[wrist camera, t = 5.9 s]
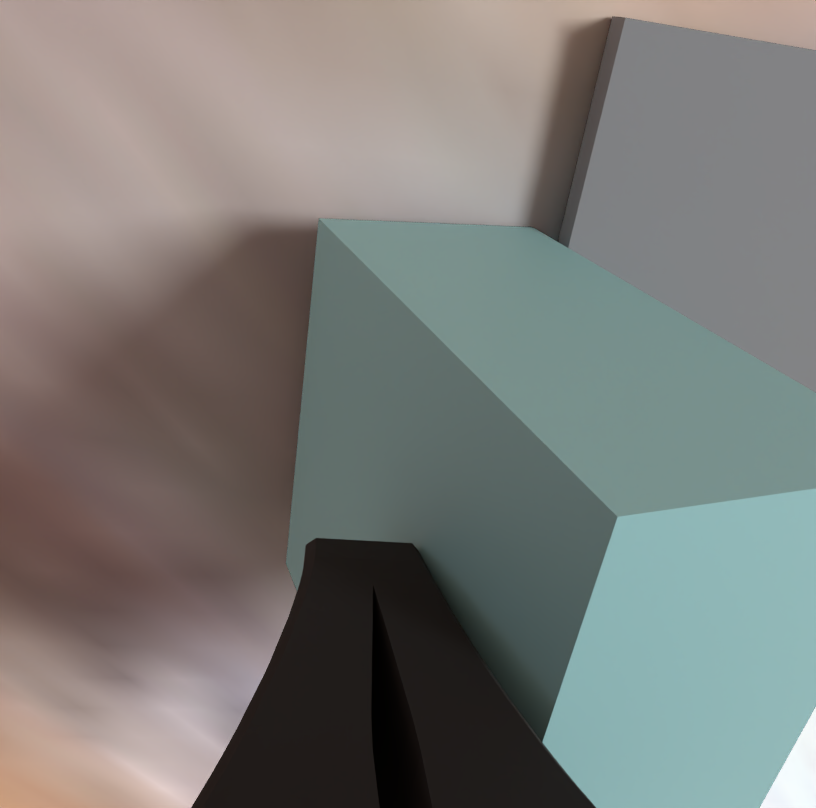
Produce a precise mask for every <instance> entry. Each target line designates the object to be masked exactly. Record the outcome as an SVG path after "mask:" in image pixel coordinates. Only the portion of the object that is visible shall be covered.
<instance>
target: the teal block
mask: <svg viewBox="0 0 816 808" xmlns="http://www.w3.org/2000/svg"><path fill="white" fill-rule="evenodd" d="M315 538H328V539H346V540H365V541H383V542H401V543H412V544H413V545H414V546H415V547H416V548H417V549H418V551H419V552H420V554H421V556H422V558H423V560H424V562H425V564H426V565H427V567H428V569H429V571H430V573H431V575H432V577H433V578H434V580H435V582H436V584H437V586H438V587H439V589H440V591H441V593H442V594H443V596H444V598H445V600H446V601H447V603H448V605H449V606H450V608H451V610H452V611H453V613H454V615H455V616H456V618H457V620H458V621H459V623H460V625H461V626H462V628H463V629H464V631H465V633H466V634H467V636H468V637H469V639H470V641H471V642H472V644H473V645H474V647H475V648H476V650H477V651H478V653H479V654H480V656H481V657H482V659H483V660H484V662H485V663H486V665H487V666H488V668H489V669H490V671H491V672H492V674H493V675H494V677H495V678H496V680H497V681H498V683H499V684H500V685H501V687H502V688H503V690H504V691H505V693H506V694H507V695H508V697H509V698H510V700H511V701H512V702H513V704H514V705H515V707H516V708H517V709H518V711H519V712H520V713H521V715H522V716H523V717H524V719H525V720H526V721H527V723H528V724H529V725H530V727H531V728H532V729H533V731H534V732H535V733H536V735H537V736H538V737H539V739H540V740H541V741H542V743H543V744H544V745H545V746H546V748H547V749H548V750H549V752H550V753H551V754H552V755H553V757H554V758H555V759H556V760H557V762H558V763H559V764H560V765H561V767H562V768H563V769H564V770H565V771H566V773H567V774H568V775H569V776H570V778H571V779H572V780H573V781H574V782H575V784H576V785H577V786H578V787H579V788H580V789H581V791H582V792H583V793H584V794H585V795H586V796H587V798H588V799H589V800H590V801H591V802H592V803H593V804H594V806H595V807H596V808H760V806H761V804H762V802H763V800H764V799H765V797H766V795H767V793H768V791H769V790H770V788H771V786H772V784H773V782H774V781H775V779H776V777H777V775H778V773H779V772H780V770H781V768H782V766H783V764H784V763H785V761H786V759H787V757H788V755H789V754H790V752H791V750H792V748H793V746H794V745H795V743H796V741H797V739H798V737H799V736H800V734H801V732H802V730H803V728H804V727H805V725H806V723H807V721H808V719H809V718H810V716H811V714H812V712H813V710H814V709H815V707H816V393H815V392H814V391H812V390H810V389H809V388H807V387H805V386H803V385H802V384H800V383H798V382H797V381H795V380H793V379H791V378H790V377H788V376H786V375H785V374H783V373H781V372H779V371H778V370H776V369H774V368H773V367H771V366H769V365H768V364H766V363H764V362H762V361H761V360H759V359H757V358H756V357H754V356H752V355H750V354H749V353H747V352H745V351H744V350H742V349H740V348H738V347H737V346H735V345H733V344H732V343H730V342H728V341H726V340H725V339H723V338H721V337H720V336H718V335H716V334H714V333H713V332H711V331H709V330H708V329H706V328H704V327H702V326H701V325H699V324H697V323H696V322H694V321H692V320H690V319H689V318H687V317H685V316H684V315H682V314H680V313H679V312H677V311H675V310H673V309H672V308H670V307H668V306H667V305H665V304H663V303H661V302H660V301H658V300H656V299H655V298H653V297H651V296H649V295H648V294H646V293H644V292H643V291H641V290H639V289H637V288H636V287H634V286H632V285H631V284H629V283H627V282H625V281H624V280H622V279H620V278H619V277H617V276H615V275H613V274H612V273H610V272H608V271H607V270H605V269H603V268H602V267H600V266H598V265H596V264H595V263H593V262H591V261H590V260H588V259H586V258H584V257H583V256H581V255H579V254H578V253H576V252H574V251H572V250H571V249H569V248H567V247H566V246H564V245H562V244H560V243H559V242H557V241H555V240H554V239H552V238H550V237H548V236H547V235H545V234H543V233H542V232H540V231H538V230H536V229H535V228H533V227H515V226H491V225H466V224H442V223H418V222H393V221H369V220H344V219H320V218H319V221H318V232H317V243H316V253H315V264H314V274H313V285H312V295H311V306H310V316H309V327H308V337H307V348H306V358H305V369H304V379H303V390H302V400H301V411H300V421H299V432H298V442H297V453H296V463H295V474H294V484H293V495H292V505H291V516H290V526H289V537H288V547H287V558H286V565H287V567H288V570H289V572H290V575H291V577H292V580H293V582H294V585H295V587H296V590H298V587H299V584H300V580H301V576H302V572H303V565H304V556H305V546H306V544H308V543H309V542H311V541H312V540H313V539H315Z"/></svg>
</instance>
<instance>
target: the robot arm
mask: <svg viewBox="0 0 816 808" xmlns="http://www.w3.org/2000/svg"><path fill="white" fill-rule="evenodd" d="M191 808H596V807H595V806H594V804H593V803H592V802H591V801H590V800H589V799H588V798H587V796H586V795H585V794H584V793H583V792H582V791H581V789H580V788H579V787H578V786H577V785H576V784H575V782H574V781H573V780H572V779H571V778H570V776H569V775H568V774H567V773H566V771H565V770H564V769H563V768H562V767H561V765H560V764H559V763H558V762H557V760H556V759H555V758H554V757H553V755H552V754H551V753H550V752H549V750H548V749H547V748H546V746H545V745H544V744H543V743H542V741H541V740H540V739H539V737H538V736H537V735H536V733H535V732H534V731H533V729H532V728H531V727H530V725H529V724H528V723H527V721H526V720H525V719H524V717H523V716H522V715H521V713H520V712H519V711H518V709H517V708H516V707H515V705H514V704H513V702H512V701H511V700H510V698H509V697H508V695H507V694H506V693H505V691H504V690H503V688H502V687H501V685H500V684H499V683H498V681H497V680H496V678H495V677H494V675H493V674H492V672H491V671H490V669H489V668H488V666H487V665H486V663H485V662H484V660H483V659H482V657H481V656H480V654H479V653H478V651H477V650H476V648H475V647H474V645H473V644H472V642H471V641H470V639H469V637H468V636H467V634H466V633H465V631H464V629H463V628H462V626H461V625H460V623H459V621H458V620H457V618H456V616H455V615H454V613H453V611H452V610H451V608H450V606H449V605H448V603H447V601H446V600H445V598H444V596H443V594H442V593H441V591H440V589H439V587H438V586H437V584H436V582H435V580H434V578H433V577H432V575H431V573H430V571H429V569H428V567H427V565H426V564H425V562H424V560H423V558H422V556H421V554H420V552H419V551H418V549H417V548H416V547H415V546H414V545H413V544H412V543H401V542H383V541H365V540H346V539H328V538H315V539H313V540H312V541H311V542H309V543H308V544H306V546H305V556H304V565H303V572H302V576H301V580H300V584H299V587H298V590H297V594H296V597H295V600H294V603H293V606H292V608H291V611H290V614H289V617H288V620H287V622H286V624H285V627H284V629H283V632H282V634H281V637H280V639H279V641H278V644H277V646H276V649H275V651H274V654H273V656H272V658H271V661H270V663H269V665H268V667H267V670H266V672H265V674H264V676H263V678H262V680H261V682H260V684H259V686H258V688H257V690H256V692H255V694H254V696H253V698H252V700H251V702H250V704H249V706H248V708H247V710H246V712H245V714H244V716H243V718H242V720H241V722H240V724H239V726H238V728H237V730H236V732H235V733H234V735H233V737H232V739H231V741H230V742H229V744H228V746H227V748H226V750H225V751H224V753H223V755H222V757H221V759H220V760H219V762H218V764H217V766H216V767H215V769H214V771H213V772H212V774H211V776H210V778H209V779H208V781H207V783H206V784H205V786H204V788H203V789H202V791H201V793H200V794H199V796H198V797H197V799H196V801H195V802H194V804H193V806H192V807H191Z"/></svg>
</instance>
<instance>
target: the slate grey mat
mask: <svg viewBox="0 0 816 808" xmlns="http://www.w3.org/2000/svg"><path fill="white" fill-rule="evenodd" d="M558 242H559V243H560V244H562V245H564V246H566V247H567V248H569V249H571V250H572V251H574V252H576V253H578V254H579V255H581V256H583V257H584V258H586V259H588V260H590V261H591V262H593V263H595V264H596V265H598V266H600V267H602V268H603V269H605V270H607V271H608V272H610V273H612V274H613V275H615V276H617V277H619V278H620V279H622V280H624V281H625V282H627V283H629V284H631V285H632V286H634V287H636V288H637V289H639V290H641V291H643V292H644V293H646V294H648V295H649V296H651V297H653V298H655V299H656V300H658V301H660V302H661V303H663V304H665V305H667V306H668V307H670V308H672V309H673V310H675V311H677V312H679V313H680V314H682V315H684V316H685V317H687V318H689V319H690V320H692V321H694V322H696V323H697V324H699V325H701V326H702V327H704V328H706V329H708V330H709V331H711V332H713V333H714V334H716V335H718V336H720V337H721V338H723V339H725V340H726V341H728V342H730V343H732V344H733V345H735V346H737V347H738V348H740V349H742V350H744V351H745V352H747V353H749V354H750V355H752V356H754V357H756V358H757V359H759V360H761V361H762V362H764V363H766V364H768V365H769V366H771V367H773V368H774V369H776V370H778V371H779V372H781V373H783V374H785V375H786V376H788V377H790V378H791V379H793V380H795V381H797V382H798V383H800V384H802V385H803V386H805V387H807V388H809V389H810V390H812V391H814V392H815V393H816V50H811V49H805V48H799V47H793V46H787V45H781V44H776V43H770V42H764V41H758V40H752V39H746V38H741V37H735V36H729V35H723V34H717V33H711V32H705V31H700V30H694V29H688V28H682V27H676V26H670V25H665V24H659V23H653V22H647V21H641V20H635V19H629V18H623V17H613V16H612V20H611V24H610V28H609V32H608V37H607V41H606V45H605V49H604V53H603V57H602V61H601V66H600V70H599V74H598V78H597V82H596V86H595V90H594V95H593V99H592V103H591V107H590V111H589V115H588V119H587V123H586V128H585V132H584V136H583V140H582V144H581V148H580V152H579V157H578V161H577V165H576V169H575V173H574V177H573V181H572V185H571V190H570V194H569V198H568V202H567V206H566V210H565V214H564V219H563V223H562V227H561V231H560V235H559V239H558Z"/></svg>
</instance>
